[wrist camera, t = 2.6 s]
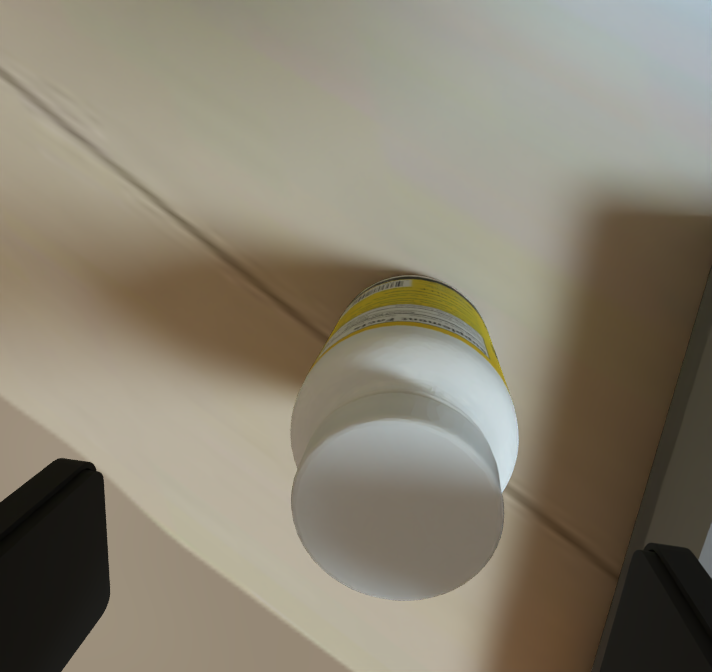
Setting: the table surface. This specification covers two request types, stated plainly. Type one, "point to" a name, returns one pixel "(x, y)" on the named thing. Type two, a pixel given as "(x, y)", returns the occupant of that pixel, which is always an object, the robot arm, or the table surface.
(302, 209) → the table surface
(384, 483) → the supplement bottle
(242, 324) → the table surface
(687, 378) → the rack
